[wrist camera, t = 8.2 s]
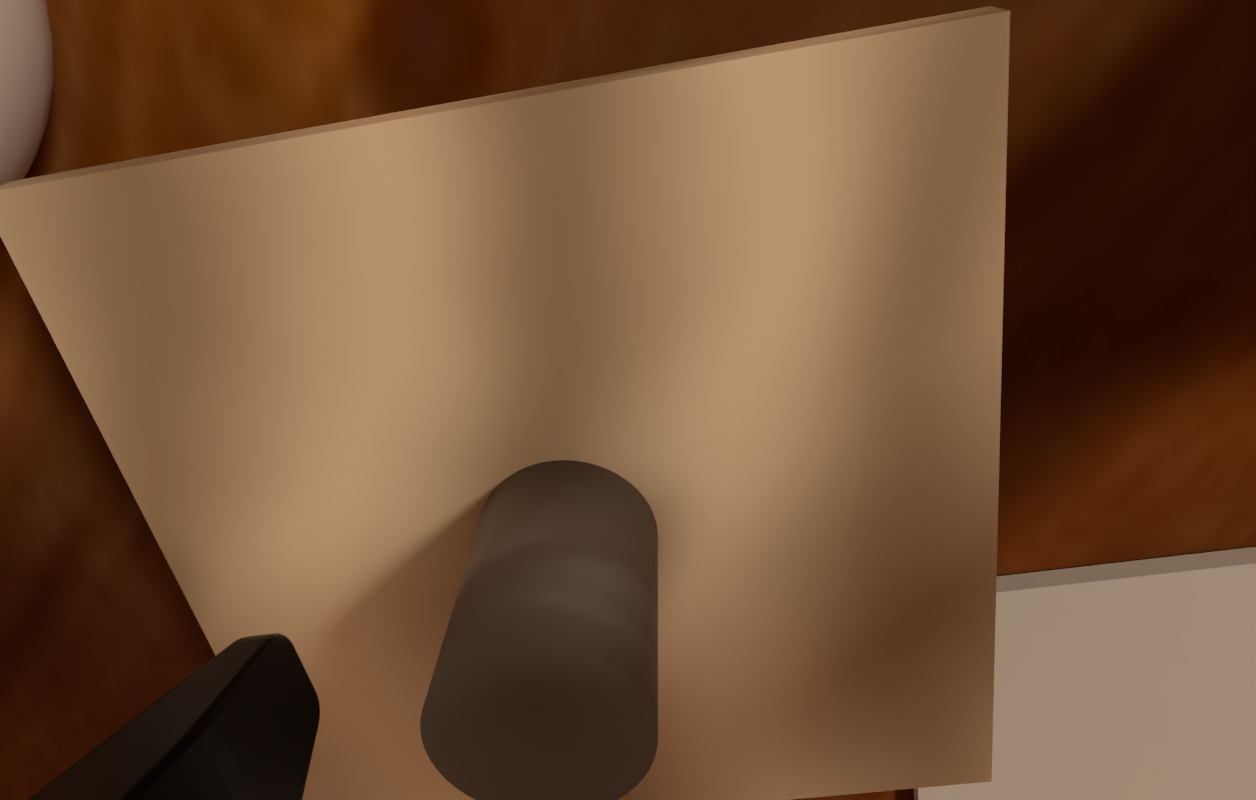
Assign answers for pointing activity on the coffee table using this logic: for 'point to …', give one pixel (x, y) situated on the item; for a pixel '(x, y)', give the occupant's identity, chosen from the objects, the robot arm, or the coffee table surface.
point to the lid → (580, 415)
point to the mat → (1124, 683)
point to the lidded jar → (23, 83)
